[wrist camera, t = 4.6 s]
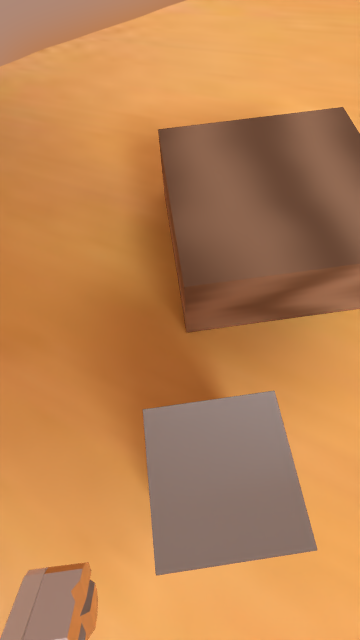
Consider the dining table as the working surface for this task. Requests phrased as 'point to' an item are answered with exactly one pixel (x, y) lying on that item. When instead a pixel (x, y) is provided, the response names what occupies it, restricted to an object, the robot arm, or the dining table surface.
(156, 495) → the slate block
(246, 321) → the walnut slab
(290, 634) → the dining table surface
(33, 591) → the robot arm
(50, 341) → the dining table surface
